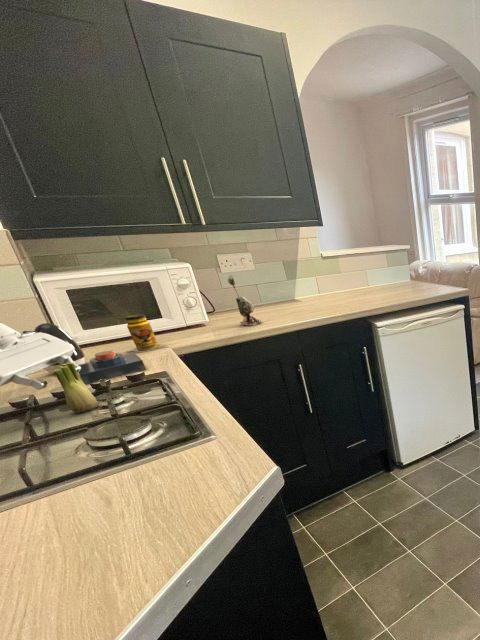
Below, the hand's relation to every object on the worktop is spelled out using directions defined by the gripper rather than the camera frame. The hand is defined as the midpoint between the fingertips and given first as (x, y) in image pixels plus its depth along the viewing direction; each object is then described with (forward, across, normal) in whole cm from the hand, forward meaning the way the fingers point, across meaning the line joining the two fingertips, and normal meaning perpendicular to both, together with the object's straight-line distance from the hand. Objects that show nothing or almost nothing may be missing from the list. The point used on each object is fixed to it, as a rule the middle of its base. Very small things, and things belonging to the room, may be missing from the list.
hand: (61, 378), depth 100 cm
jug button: (-5, -27, -11) cm, 30 cm away
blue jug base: (-2, -27, -14) cm, 31 cm away
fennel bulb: (+7, 0, -5) cm, 9 cm away
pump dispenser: (-14, -32, -26) cm, 44 cm away
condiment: (-6, -52, -18) cm, 55 cm away
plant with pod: (+12, -77, -1) cm, 78 cm away
